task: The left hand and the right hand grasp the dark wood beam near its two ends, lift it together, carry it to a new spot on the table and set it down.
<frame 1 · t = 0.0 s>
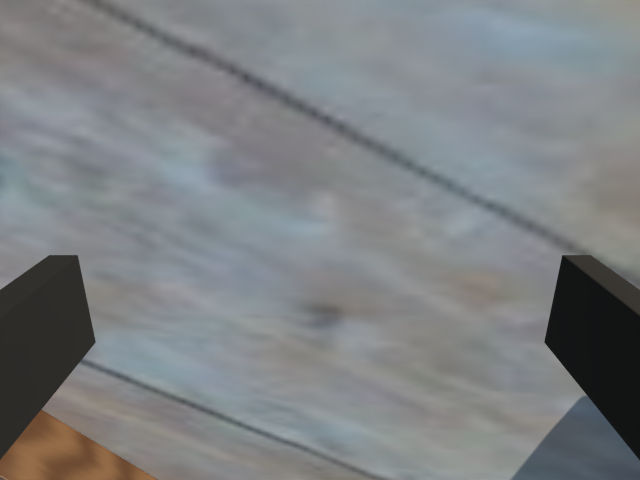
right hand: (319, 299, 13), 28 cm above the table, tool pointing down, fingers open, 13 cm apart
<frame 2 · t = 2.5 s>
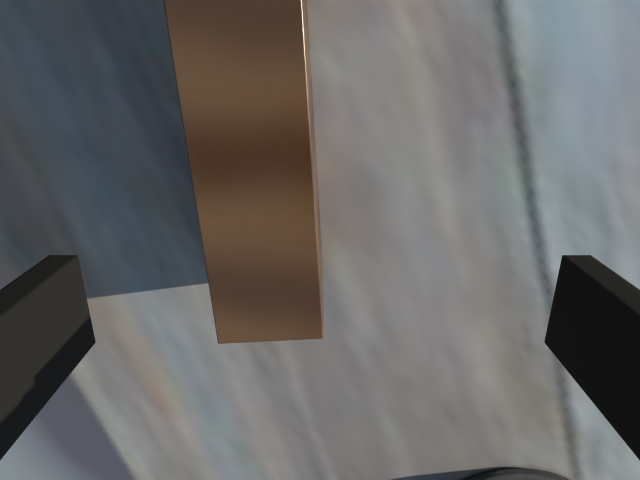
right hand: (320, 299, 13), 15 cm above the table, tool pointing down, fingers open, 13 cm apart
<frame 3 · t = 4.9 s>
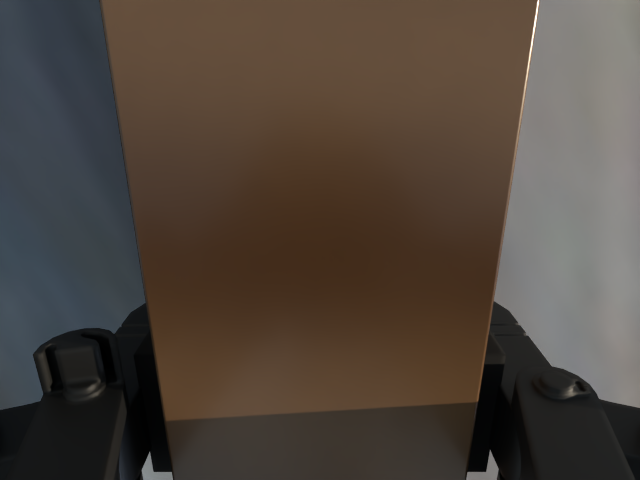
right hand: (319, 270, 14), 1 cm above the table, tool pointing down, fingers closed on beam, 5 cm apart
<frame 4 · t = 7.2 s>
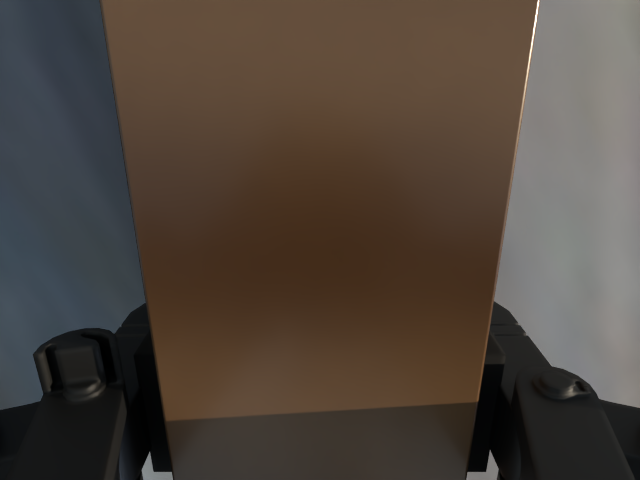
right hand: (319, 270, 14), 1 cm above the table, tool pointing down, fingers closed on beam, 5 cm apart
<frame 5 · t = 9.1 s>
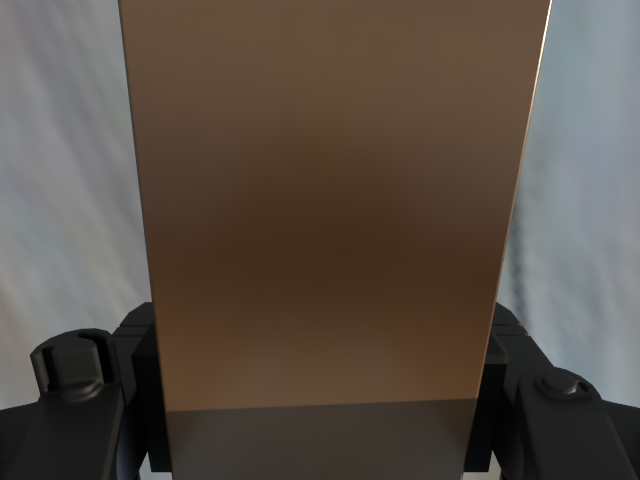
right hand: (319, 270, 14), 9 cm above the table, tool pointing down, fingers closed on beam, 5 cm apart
when the right hand's fingers open (2 cm above the table, at t = 10.8 s): beam drops 2 cm, on the table.
when the left hand's fingers open (5 cm above the table, at t = 11.0 s): beam stays where it is, on the table.
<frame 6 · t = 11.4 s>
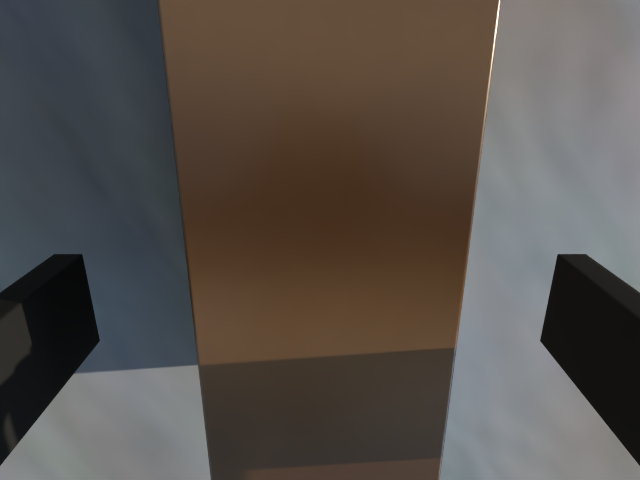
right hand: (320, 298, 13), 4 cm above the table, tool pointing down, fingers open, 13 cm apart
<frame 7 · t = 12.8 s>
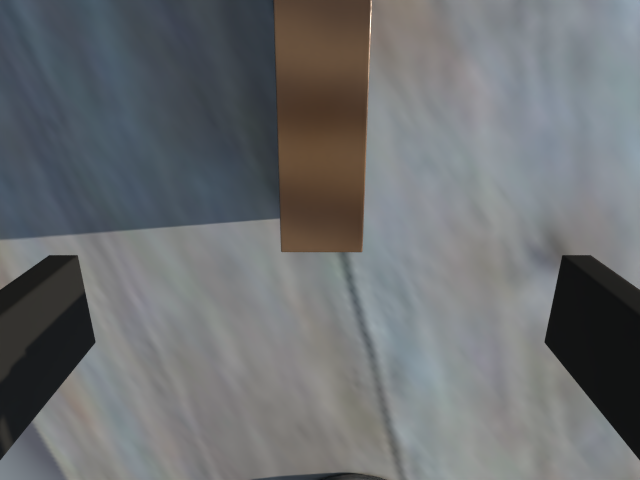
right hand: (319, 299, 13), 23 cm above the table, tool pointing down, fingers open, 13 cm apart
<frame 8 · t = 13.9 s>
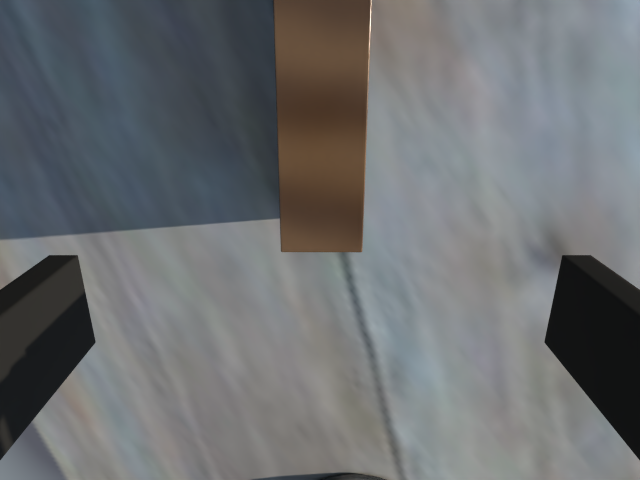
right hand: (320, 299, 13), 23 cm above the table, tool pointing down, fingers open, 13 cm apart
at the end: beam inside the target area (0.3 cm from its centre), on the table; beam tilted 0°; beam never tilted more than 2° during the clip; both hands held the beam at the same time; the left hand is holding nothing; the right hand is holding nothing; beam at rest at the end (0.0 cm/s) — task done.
